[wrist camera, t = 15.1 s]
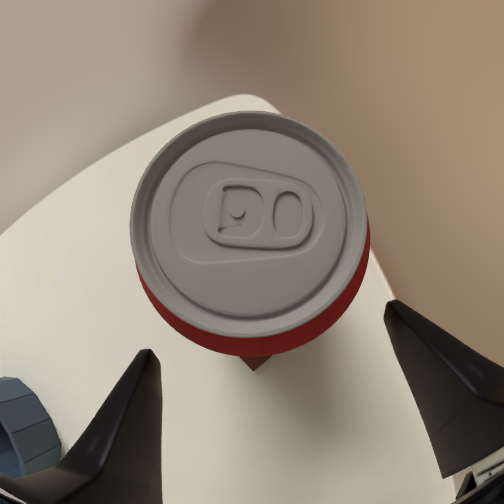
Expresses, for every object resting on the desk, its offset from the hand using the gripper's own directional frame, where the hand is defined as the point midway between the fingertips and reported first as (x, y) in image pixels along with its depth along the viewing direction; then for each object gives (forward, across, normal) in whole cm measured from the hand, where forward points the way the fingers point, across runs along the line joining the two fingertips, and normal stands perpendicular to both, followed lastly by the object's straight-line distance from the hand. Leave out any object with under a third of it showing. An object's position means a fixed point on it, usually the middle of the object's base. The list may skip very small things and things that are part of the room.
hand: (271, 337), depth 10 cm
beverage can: (+8, 0, +3) cm, 8 cm away
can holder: (0, +25, +11) cm, 28 cm away
